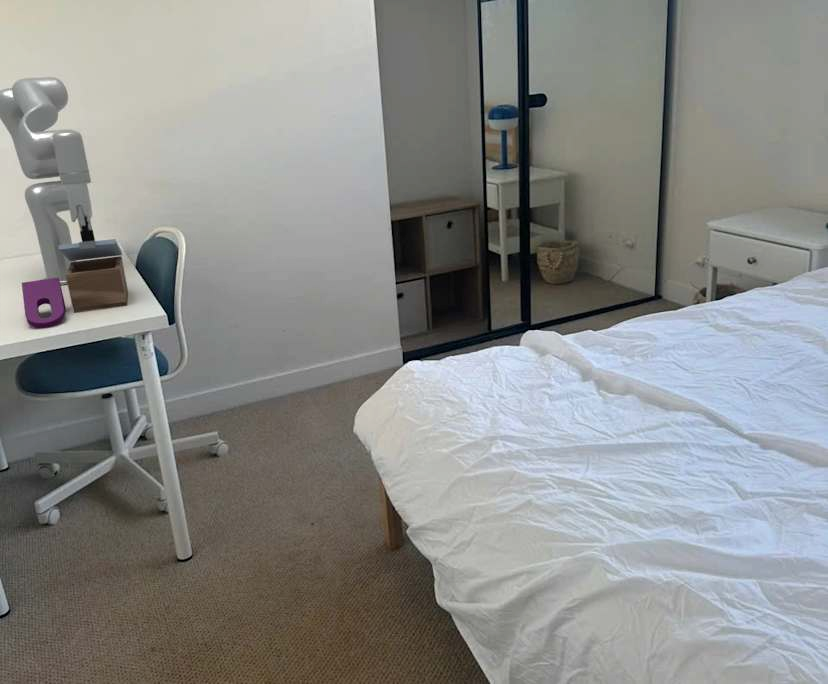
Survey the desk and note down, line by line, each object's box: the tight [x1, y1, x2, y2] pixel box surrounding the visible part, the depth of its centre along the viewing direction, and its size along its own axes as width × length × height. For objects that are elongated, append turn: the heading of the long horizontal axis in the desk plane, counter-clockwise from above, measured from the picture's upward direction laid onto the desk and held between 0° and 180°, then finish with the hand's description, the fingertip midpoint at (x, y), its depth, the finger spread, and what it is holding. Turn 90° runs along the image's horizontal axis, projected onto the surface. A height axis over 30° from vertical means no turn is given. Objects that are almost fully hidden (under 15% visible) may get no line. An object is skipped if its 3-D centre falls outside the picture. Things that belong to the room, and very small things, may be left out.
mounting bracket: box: [21, 277, 67, 329], centre depth 203 cm, size 9×8×18 cm
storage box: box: [66, 255, 129, 314], centre depth 214 cm, size 16×14×11 cm
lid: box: [59, 238, 123, 262], centre depth 211 cm, size 17×15×2 cm
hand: (89, 244), depth 208 cm, fingers closed
